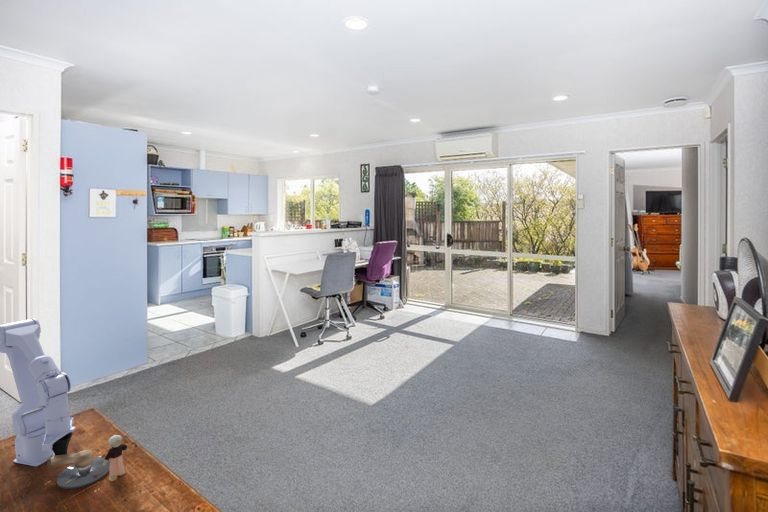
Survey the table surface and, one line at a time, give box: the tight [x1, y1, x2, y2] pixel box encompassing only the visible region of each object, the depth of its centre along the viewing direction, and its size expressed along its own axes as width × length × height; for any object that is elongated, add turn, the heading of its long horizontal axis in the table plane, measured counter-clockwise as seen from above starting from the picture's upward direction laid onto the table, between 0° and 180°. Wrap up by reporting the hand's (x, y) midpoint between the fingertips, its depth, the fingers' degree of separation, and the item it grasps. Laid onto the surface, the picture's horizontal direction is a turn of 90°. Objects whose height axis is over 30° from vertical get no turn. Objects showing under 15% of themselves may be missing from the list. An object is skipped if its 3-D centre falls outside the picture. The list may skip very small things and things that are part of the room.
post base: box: [56, 457, 110, 490], centre depth 121 cm, size 13×13×3 cm
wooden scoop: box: [46, 449, 94, 468], centre depth 120 cm, size 11×4×3 cm, turn 102°
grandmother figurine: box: [102, 434, 130, 482], centre depth 121 cm, size 8×4×13 cm, turn 168°
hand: (61, 459), depth 121 cm, fingers closed
